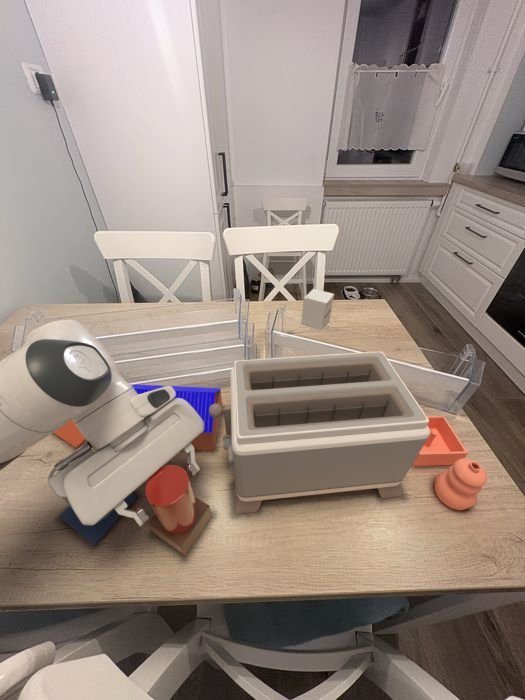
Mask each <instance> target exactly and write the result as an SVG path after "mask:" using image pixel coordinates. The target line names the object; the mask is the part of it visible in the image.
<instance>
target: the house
mask: <svg viewBox="0 0 525 700" xmlns="http://www.w3.org/2000/svg"><path fill="white" fill-rule="evenodd" d="M131 385H132V387H133V388H134V389H135V391H136V392H137V394H142V393H145V392H147V391H152V390H156V389H159V388H162V387H166V386H167V385H156V384H155V385H154V384H131ZM170 386H171V387H172V388H173V389H174V390H175V392H176V396H175V397H174V398H181V399H184V400H185V401H187V402H188V403H189V404H190V405H191V406H192V407H193V409H194V410H195V411H196V412H197V413H198V415H199V416H200V417H201V419H202V420H203V422H204V431H203V432H202V433H201V434H200V435H198V436H197V437H196V438H195V439H194V440H193V441H191V444H192V445H193V447H194V450H195V451H196V450H198V451H199V450H200V451H215V447H216V443H217V438H218V434H219V433H218V432H219V428H220V423H221V419H222V415H221V416H220V417H218V418H213V417H212V416H211V415H210V414H209V408H210V406H211V405H213V404H219V405H221V407H222V409H223V400H222V399H223V398H222V389H223V388H221V387H201V386H200V387H199V386H180V385H179V386H177V385H170ZM174 398H173V399H174Z"/></svg>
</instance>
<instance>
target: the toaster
mask: <svg viewBox="0 0 525 700" xmlns="http://www.w3.org/2000/svg"><path fill="white" fill-rule="evenodd" d="M229 383H230V385H229V388H230V404H229V405H227V406H224V407H223V406H222V407H223V409H222V407H221V405H219V404H213V405H211V406H210V408H209V414H210V415H211V416H212V417H213V418H218V417H220V416H221V417H222V415H223V417H224V418H223V419H224V425H225V426H224V427H225V434H224V435H223V438H222V439H223V448H224V451H227V452H228V456H227V458H228V464H229V465H228V466H229V472H230V473H233V472H234V479H235V480H234V484H233V502H234V503H233V504H234V505H233V507H234V508H233V509H234V510H233V513H234V515H239V514H240V515H241V514H248V513H258V512H259V511H260V507H261V504H262V502H263V501H269V500H270V501H271V500H279V499H286V498H287V499H288V498H297V497H298V498H299V497H306V496H316V495H327V494H336V493H346V492H355V491H365V490H375V489H377V492H378V494H379V497H380V498H381V499H387V498H388V499H389V498H396V497H397V498H399V497H403V491H402V487H401V484H402V482H403V481H404V478H405V477H406V476H407V474H408V473H409V471H410V469H411V467H412V466H413V465H412V464H413V462H414V461H415V459H416V457H417V456H418V454H419V452H420V451H421V449H422V447H423V446H424V444H425V442H426V441H427V439H428V437H429V435H430V429H429V427H428V423H429V419H428V418H427V416H428V415H426V414H425V412H424V410H423V409H422V407H421V406H420V404H419V403H418V402H417V400H416V398H415V397H414V396H413V394H412V392H410V390H409V389H408V387H407V385H406V383H404V381H403V379H402V378H401V377H400V375H399V374H398V372H397V371H396V369H395V367H394V366H393V365H392V363H391V361H390V360H389V358H388V357H387V356H386V354H385V353H384V352H383V351H381V350H380V351H363V352H349V353H348V352H347V353H332V354H316V355H303V356H302V355H301V356H287V357H271V358H257V359H241V360H234V362H233V366H232V367H231V369H230V372H229Z"/></svg>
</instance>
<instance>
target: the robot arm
mask: <svg viewBox="0 0 525 700" xmlns="http://www.w3.org/2000/svg"><path fill="white" fill-rule="evenodd" d="M22 344H23V345H21V347H19V348H18V349H17V350H15V351H13V352H12V353H10V354H9V355H7V356H5V357H4V358H3V359H1V360H0V471H2V470H4V469H5V468H6V467H7V466H8V465H10V464H12V463H13V462H14V461H15V460H16V459H18V458H19V457H20V456H21V455H23V454H24V453H25V452H26V451H27V450H29V449H30V448H32V447H34V446H35V445H36V444H38V443H40V442H42V441H43V440H44V439H46V438H47V437H49V436H50V435H52V434H54V433H53V432H55V431H56V430H58V429H59V428H61V427H62V426H63V425H65V424H66V423H68V422H69V421H71V420H73V423H74V424H75V425H76V427H77V428H78V429H79V431H80V432H81V433H82V435H83V436H84V438H85V439H86V442H84V443H83V444H82V445H80V446H79V447H78V448H77V449H76V448H75V450H74V451H73V452H72V453H70V454H69V455H67V456H66V457H63V458H62V459H60V460H58V461H57V462H56V463H55V464H54V465H53V467H54V468H53V469H52V470H51V471H50V472H49V474H48V477H47V484H48V486H49V488H50V489H51V490H52V492H53V493H54V494H55V495H56V496H57V497H59V498H62V497H63V498H68V500H69V503H70V505H71V506H72V508H73V510H74V512H75V514H76V515H77V517H78V518H79V520H80V521H81V523H82V524H83V525H95V524H96V523H97V522H98V521H99V520H101V519H102V518H103V517H104V516H105V515H106V514H108V513H109V512H110V511H111V510H112V509H113V508H114V509H115V511H116V512H117V513H118V514H119V515H121V516H124V517H126V518H131V519H133V520H134V521H135V523H136V524H137V525H138V526H139V527H142V526H143V525H144V524H145V523H146V522H147V521H148V520H149V519H150V517H149V515H148V514H147V513H146V511H145V510H144V509H143V508H142V507H138V508H137V509H136V510H132V509H129V508H127V509H125V508H126V507H127V504H126V503H125V501H124V499H125V498H126V497H127V496H129V495H130V494H131V493H133V492H135V491H136V490H137V489H138V488H139V487H140V486H142V485H143V484H144V483H145V482H147V481H148V479H149V478H150V477H151V476H152V475H153V474H154V473H155V472H156V471H158V470H159V469H160V468H161V467H164V466H166V464H167V463H168V462H169V461H170V460H172V459H173V458H175V456H177V454H179V453H180V452H181V453H182V454H185V455H186V461H187V462H186V464H185V465H184V466H183V469H184V470H185V471H186V472H187V474H188V476H191V477H194V476H195V475H196V474H197V473H199V471H200V470H201V468H200V467H199V464H198V463H197V462H196V452H195V451H196V449H194V447H193V445H192V444H191V441H193V440H194V439H195V438H196V437H197V436H198V435H200V434H201V433H202V432H203V431H204V422H203V420H202V419H201V417H200V416H199V415H198V413H197V412H196V411H195V410H194V409H193V407H192V406H191V405H190V404H189V403H188V402H187V401H185V400H184V399H181V398H174V397H175V396H176V392H175V390H174V389H173V388H172V387H171V386H172V385H165V386H166V387H162V388H159V389H156V390H152V391H147V392H145V393H142V394H137V392H136V391H135V389H134V388H133V387H132V385H133V384H130V383H129V382H128V381H127V380H126V379H124V377H123V376H122V375H121V372H120V370H119V367H118V364H117V363H116V361H115V360H114V358H113V357H112V356H111V354H110V353H109V352H108V350H107V349H106V347H105V346H104V345H103V344H102V343H101V342H100V340H98V338H97V337H96V336H95V335H94V334H92V332H91V331H90V330H89V329H88V328H87V327H86V326H85V325H83V324H82V323H81V322H80V321H77V320H75V319H57V320H53V321H49V322H46V323H43V324H41V325H38V326H37V327H35V328H33V329H32V330H30V331H29V332H28V333H27V334H26V336H25V337H24V339H23V343H22ZM173 398H174V399H173ZM56 471H57V473H56ZM63 498H62V499H63Z"/></svg>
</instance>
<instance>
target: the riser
mask: <svg viewBox="0 0 525 700" xmlns="http://www.w3.org/2000/svg"><path fill="white" fill-rule="evenodd" d="M194 497H195V500H196V504H197V507H198V515H197V518H196V521H195V523H194V524H193V526H192V527H191V528H190V529H189V530H187V531H186V532H184V533H182V534H178V535H172V534H169V533H167V532H166V531H164V529H163V528H162V526H161V524H160V522H159V520H158V518H157V516H156V515H155V514H154V515H153V516H152V518H151V519H150V520H149V521H148V523H147V525H148V527H149V528H150V530H151V531H152V533H153V535H155V536H156V537H157V538H159V539H161V541H163V542H165V543H166V544H167V545H168V546H170V547H171V548H172V549H174V550H176V551H177V552H178V553H180V554H181V555H182V556H184V557H187V556H188V554H189V552H190V551H191V550H192V548H193V546H194V545H195V543H196V542H197V540H198V538H199V537H200V535H201V534H202V532H203V531H204V529H205V528H206V526H207V524H208V523H209V521H210V519H211V518H212V517H213V514H212V511H211V507H210V505H209V504H207V503H205V502H204V501H202V499H200V498H197V497H196V496H195V495H194Z"/></svg>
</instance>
